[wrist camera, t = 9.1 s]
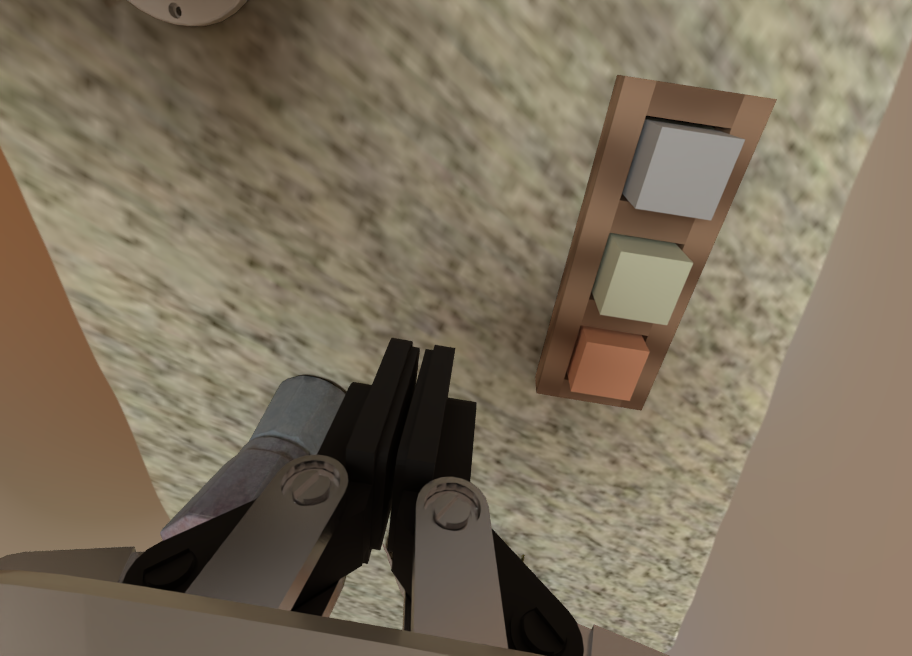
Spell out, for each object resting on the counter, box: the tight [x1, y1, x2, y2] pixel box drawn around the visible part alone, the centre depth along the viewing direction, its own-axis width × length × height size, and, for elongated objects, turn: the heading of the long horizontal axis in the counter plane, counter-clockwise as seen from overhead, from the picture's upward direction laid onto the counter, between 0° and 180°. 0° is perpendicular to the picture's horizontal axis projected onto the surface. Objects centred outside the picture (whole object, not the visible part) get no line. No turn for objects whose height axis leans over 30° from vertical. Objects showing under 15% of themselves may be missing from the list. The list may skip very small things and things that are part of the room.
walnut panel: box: [535, 75, 777, 410], centre depth 37 cm, size 26×10×2 cm, turn 172°
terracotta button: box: [567, 325, 650, 401], centre depth 40 cm, size 5×5×4 cm
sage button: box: [592, 233, 693, 325], centre depth 35 cm, size 5×5×4 cm
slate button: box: [622, 119, 745, 220], centre depth 31 cm, size 5×5×4 cm
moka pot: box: [161, 376, 345, 540], centre depth 40 cm, size 10×15×20 cm, turn 112°
